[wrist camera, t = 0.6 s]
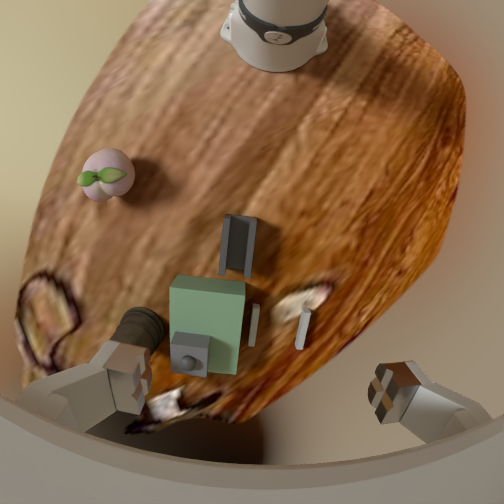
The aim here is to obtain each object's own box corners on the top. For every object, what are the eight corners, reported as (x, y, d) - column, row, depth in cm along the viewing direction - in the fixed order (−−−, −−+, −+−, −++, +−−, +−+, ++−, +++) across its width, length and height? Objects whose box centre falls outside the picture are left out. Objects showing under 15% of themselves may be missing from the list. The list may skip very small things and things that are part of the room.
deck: (177, 274, 50) (161, 300, 39) (312, 288, 51) (328, 316, 40) (177, 348, 54) (164, 384, 43) (296, 360, 55) (306, 396, 44)
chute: (220, 265, 50) (218, 275, 45) (225, 213, 47) (223, 218, 43) (249, 268, 50) (250, 278, 45) (255, 216, 48) (257, 221, 43)
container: (134, 297, 51) (93, 348, 33) (172, 324, 52) (146, 384, 35) (116, 328, 52) (77, 381, 35) (152, 353, 54) (124, 412, 37)
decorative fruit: (138, 143, 44) (114, 137, 34) (148, 189, 46) (124, 192, 36) (94, 159, 44) (63, 158, 34) (102, 202, 46) (73, 209, 36)
